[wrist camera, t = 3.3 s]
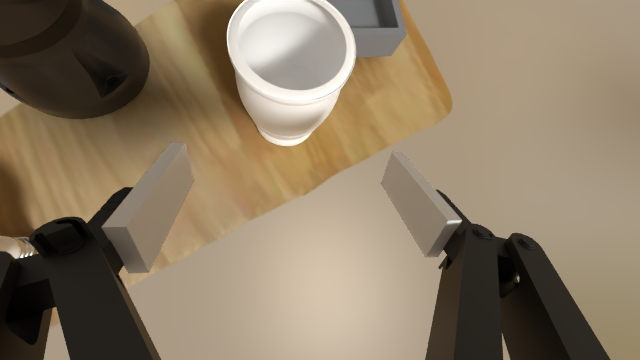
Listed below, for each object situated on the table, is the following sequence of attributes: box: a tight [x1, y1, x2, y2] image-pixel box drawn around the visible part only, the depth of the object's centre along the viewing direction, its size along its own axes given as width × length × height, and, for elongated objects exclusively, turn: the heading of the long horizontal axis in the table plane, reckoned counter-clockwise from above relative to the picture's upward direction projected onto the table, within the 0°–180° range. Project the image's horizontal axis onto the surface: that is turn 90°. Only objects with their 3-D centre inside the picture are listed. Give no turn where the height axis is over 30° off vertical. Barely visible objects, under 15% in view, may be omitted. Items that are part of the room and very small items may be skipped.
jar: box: [227, 0, 356, 146], centre depth 26 cm, size 11×10×15 cm
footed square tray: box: [326, 0, 407, 57], centre depth 34 cm, size 16×16×6 cm
